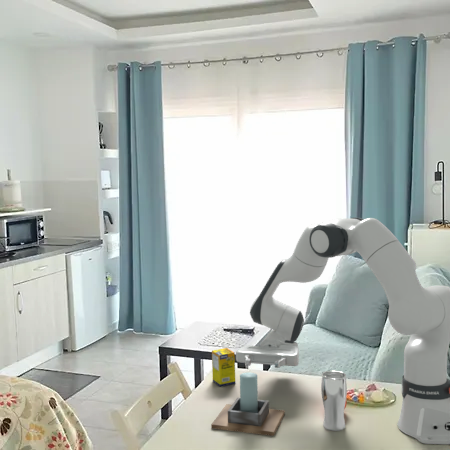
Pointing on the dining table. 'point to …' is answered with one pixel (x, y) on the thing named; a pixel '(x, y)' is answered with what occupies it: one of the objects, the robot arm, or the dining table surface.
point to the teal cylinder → (248, 392)
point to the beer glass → (334, 399)
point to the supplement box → (223, 366)
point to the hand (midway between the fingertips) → (262, 364)
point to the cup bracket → (249, 419)
